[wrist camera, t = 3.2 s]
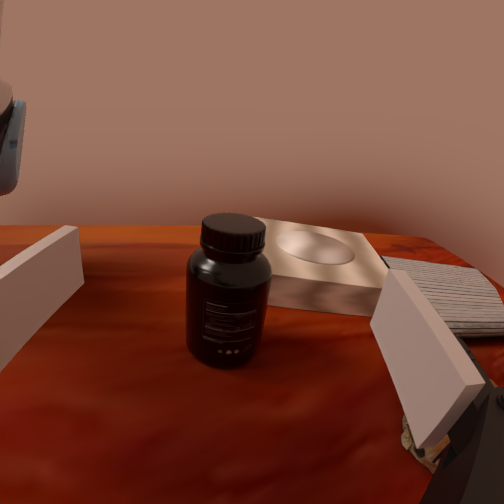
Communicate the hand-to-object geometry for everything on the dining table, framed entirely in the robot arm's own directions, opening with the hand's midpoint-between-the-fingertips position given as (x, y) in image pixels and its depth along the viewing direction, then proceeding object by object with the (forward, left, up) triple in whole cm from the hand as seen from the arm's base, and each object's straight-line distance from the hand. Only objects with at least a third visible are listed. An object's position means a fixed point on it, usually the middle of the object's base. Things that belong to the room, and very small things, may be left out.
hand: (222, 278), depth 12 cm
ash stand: (+9, +29, -13) cm, 33 cm away
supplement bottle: (-1, +11, -14) cm, 18 cm away
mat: (+34, +25, -14) cm, 45 cm away
